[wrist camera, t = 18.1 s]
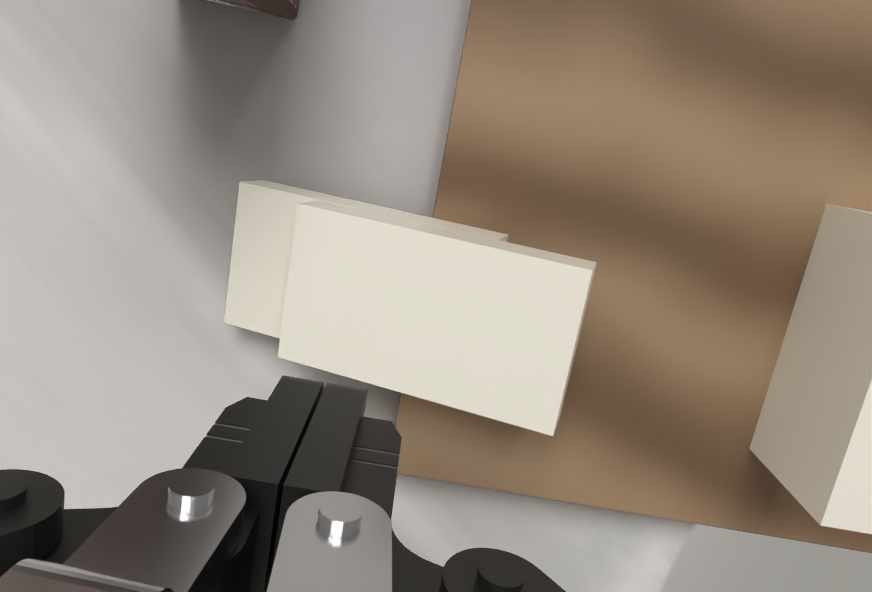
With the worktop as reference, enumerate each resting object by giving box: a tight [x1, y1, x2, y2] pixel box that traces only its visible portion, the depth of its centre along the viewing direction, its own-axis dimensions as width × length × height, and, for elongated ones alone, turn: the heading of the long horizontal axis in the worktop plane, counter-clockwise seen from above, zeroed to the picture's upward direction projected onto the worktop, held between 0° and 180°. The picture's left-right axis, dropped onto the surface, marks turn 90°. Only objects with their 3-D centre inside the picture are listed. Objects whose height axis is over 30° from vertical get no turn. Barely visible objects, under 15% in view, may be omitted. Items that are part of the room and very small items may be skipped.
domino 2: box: [278, 200, 597, 436], centre depth 22 cm, size 2×5×9 cm
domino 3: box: [749, 204, 872, 534], centre depth 22 cm, size 2×5×9 cm
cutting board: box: [395, 0, 872, 553], centre depth 25 cm, size 20×27×2 cm
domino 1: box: [224, 180, 508, 338], centre depth 24 cm, size 2×5×9 cm
